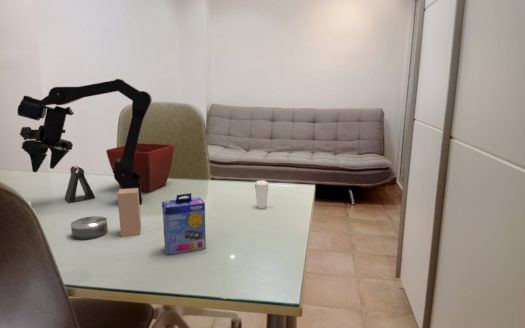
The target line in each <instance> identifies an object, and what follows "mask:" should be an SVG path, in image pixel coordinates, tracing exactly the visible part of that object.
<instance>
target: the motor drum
mask: <svg viewBox="0 0 525 328" xmlns="http://www.w3.org/2000/svg"><path fill="white" fill-rule="evenodd" d="M70 228H71V236H72V239H73V240H77V241H88V240H95V239H99V238H101V237H103V236H105V235H107V234H108V231H109V230H108V219H107V217H104V216H100V215H99V216H97V215H96V216H95V215H93V216H86V217H82V218H78V219H76V220H73V221H72V222H71V223H70Z"/></svg>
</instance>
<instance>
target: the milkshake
mask: <svg viewBox="0 0 525 328" xmlns="http://www.w3.org/2000/svg"><path fill="white" fill-rule="evenodd" d="M270 182H271V180H269V182H268V181H266V180H264V179H263V180H256V181H255V183H254V189H255V198H256V199H255V201H256V208H257V209H266V208H267V206H268V192H269V184H270Z"/></svg>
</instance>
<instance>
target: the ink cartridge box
mask: <svg viewBox="0 0 525 328" xmlns="http://www.w3.org/2000/svg"><path fill="white" fill-rule="evenodd" d="M182 197H183V198H182ZM161 208H162V210H161V211H162V221H163V222H162V223H163V225H162V227H163V238H164V239H163V240H164V249H165V252H166V254H167V255H168V256H170V255H174V254H181V253H187V252H193V251H199V250H205V249H206V248H207V243H206V242H207V241H206V202H205V201H203V200H202V198H201V197H200V196H199V197H192V192H188V193H181V194H176V198H175V199H172V200H171V199H170V200H163V201H161Z"/></svg>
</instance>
